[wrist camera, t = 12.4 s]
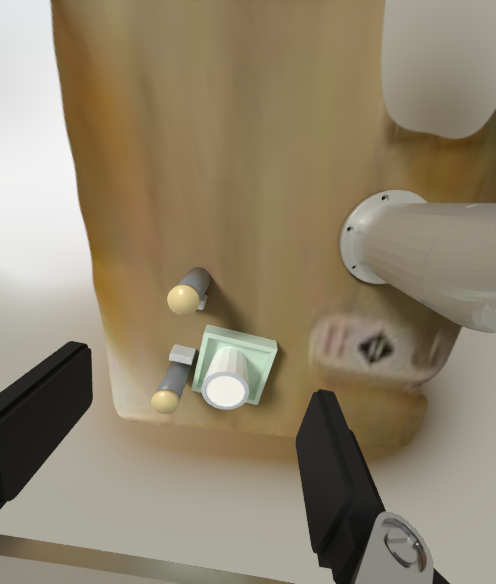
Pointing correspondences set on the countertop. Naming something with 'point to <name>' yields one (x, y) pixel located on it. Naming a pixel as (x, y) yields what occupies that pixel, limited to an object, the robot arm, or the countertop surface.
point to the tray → (253, 348)
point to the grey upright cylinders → (183, 303)
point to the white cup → (226, 380)
